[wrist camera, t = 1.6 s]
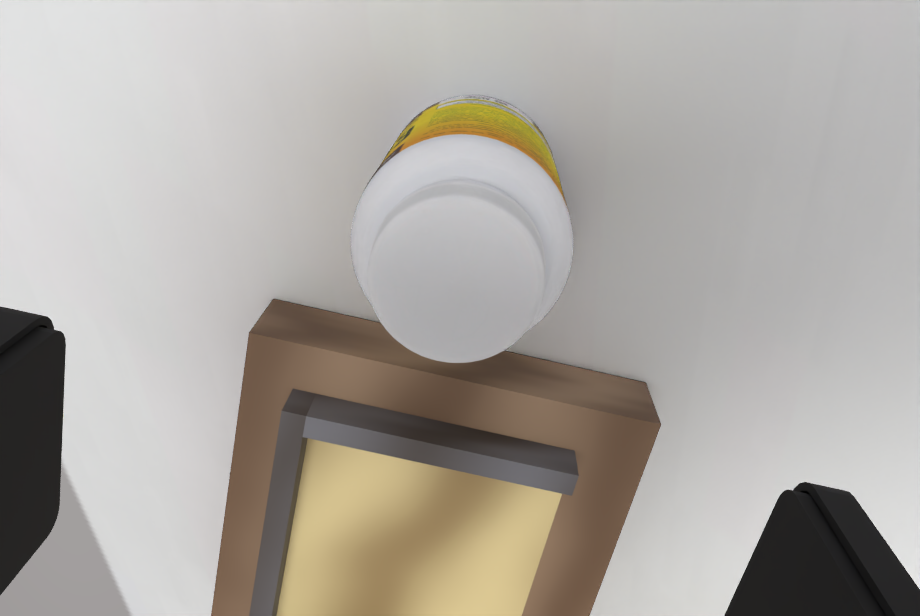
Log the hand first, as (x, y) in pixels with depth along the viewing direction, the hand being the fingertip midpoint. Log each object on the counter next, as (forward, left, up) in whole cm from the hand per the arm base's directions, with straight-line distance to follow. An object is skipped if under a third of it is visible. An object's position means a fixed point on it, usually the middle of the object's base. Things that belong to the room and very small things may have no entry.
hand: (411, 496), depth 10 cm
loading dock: (-1, +13, -18) cm, 22 cm away
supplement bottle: (0, 0, -18) cm, 18 cm away
